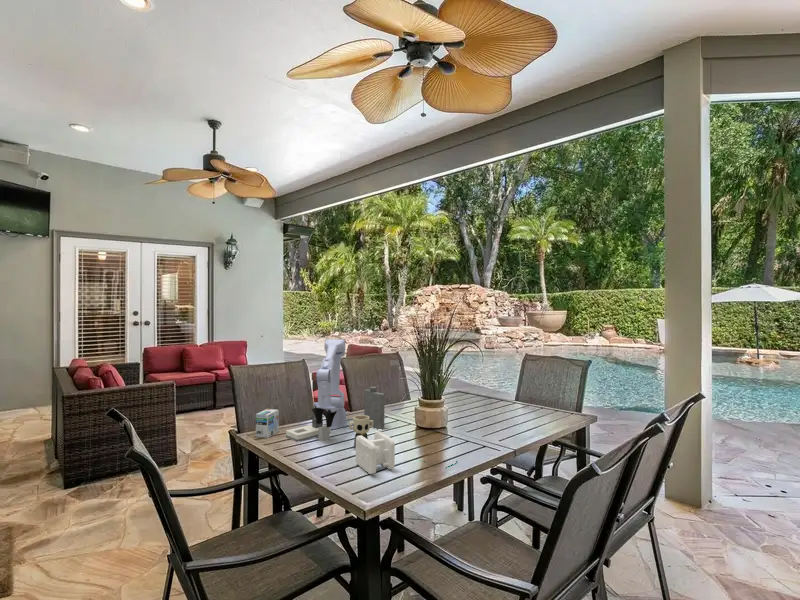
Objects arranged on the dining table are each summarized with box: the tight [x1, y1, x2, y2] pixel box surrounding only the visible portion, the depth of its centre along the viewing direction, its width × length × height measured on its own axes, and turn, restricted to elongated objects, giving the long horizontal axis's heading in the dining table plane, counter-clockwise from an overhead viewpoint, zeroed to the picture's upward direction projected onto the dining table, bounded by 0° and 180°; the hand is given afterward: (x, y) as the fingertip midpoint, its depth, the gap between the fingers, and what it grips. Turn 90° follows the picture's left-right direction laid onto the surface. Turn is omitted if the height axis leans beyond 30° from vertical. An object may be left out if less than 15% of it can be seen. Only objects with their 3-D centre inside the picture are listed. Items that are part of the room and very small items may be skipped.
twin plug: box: [311, 417, 324, 428], centre depth 208 cm, size 4×3×4 cm
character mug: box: [348, 414, 373, 448], centre depth 188 cm, size 11×7×13 cm, turn 111°
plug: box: [317, 426, 331, 443], centre depth 197 cm, size 4×3×6 cm
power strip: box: [285, 424, 332, 443], centre depth 204 cm, size 18×10×3 cm, turn 135°
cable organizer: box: [355, 431, 396, 475], centre depth 164 cm, size 15×11×12 cm
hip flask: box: [363, 386, 385, 430], centre depth 220 cm, size 16×4×20 cm, turn 37°
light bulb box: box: [255, 408, 280, 439], centre depth 205 cm, size 11×7×11 cm, turn 168°
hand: (324, 425), depth 197 cm, fingers open, 7 cm apart
